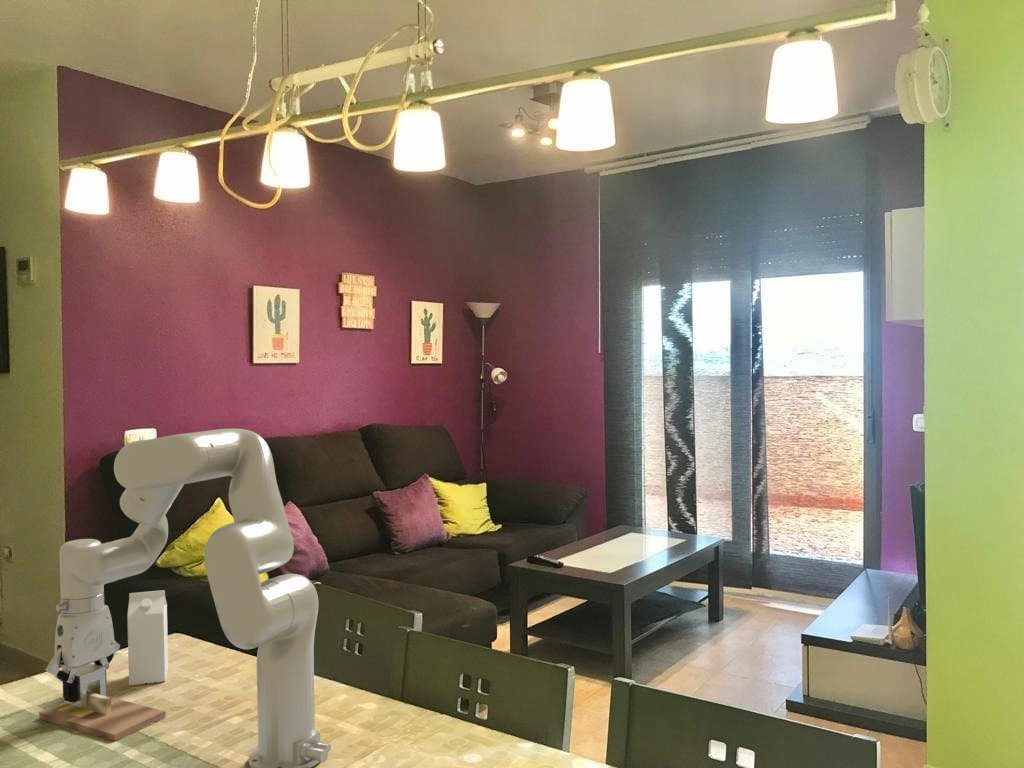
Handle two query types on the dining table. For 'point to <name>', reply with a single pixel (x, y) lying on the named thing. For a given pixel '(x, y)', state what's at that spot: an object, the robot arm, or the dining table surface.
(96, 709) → the rail board
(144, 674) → the milk carton
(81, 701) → the notched grey block
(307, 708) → the robot arm
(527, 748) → the dining table surface
